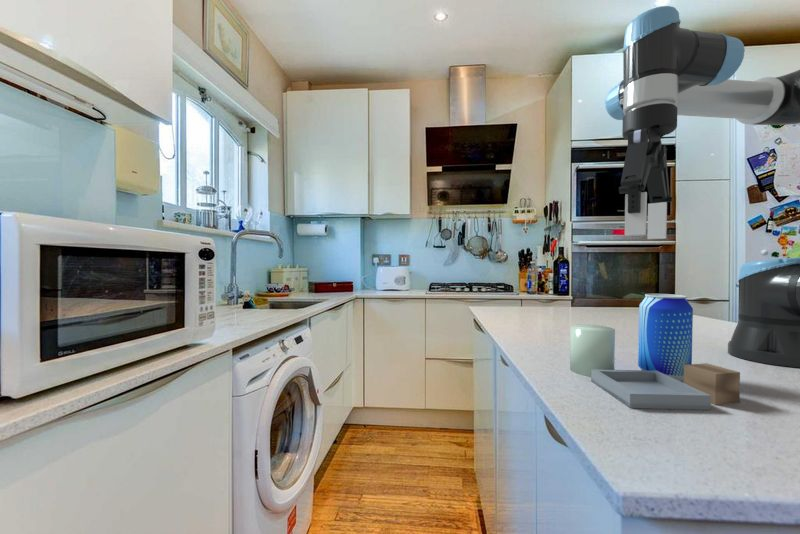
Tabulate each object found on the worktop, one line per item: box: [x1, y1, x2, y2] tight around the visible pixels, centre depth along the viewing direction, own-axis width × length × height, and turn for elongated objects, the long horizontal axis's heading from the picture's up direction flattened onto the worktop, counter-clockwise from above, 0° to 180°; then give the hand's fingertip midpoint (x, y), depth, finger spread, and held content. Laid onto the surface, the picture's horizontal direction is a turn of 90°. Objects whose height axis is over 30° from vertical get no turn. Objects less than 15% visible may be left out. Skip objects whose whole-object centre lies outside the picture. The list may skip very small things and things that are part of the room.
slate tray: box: [590, 369, 712, 411], centre depth 60 cm, size 12×12×2 cm
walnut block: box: [683, 362, 741, 406], centre depth 58 cm, size 5×5×5 cm
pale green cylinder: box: [569, 323, 616, 378], centre depth 72 cm, size 8×8×9 cm
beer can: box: [637, 293, 694, 382], centre depth 69 cm, size 8×8×16 cm
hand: (646, 237), depth 59 cm, fingers open, 13 cm apart
